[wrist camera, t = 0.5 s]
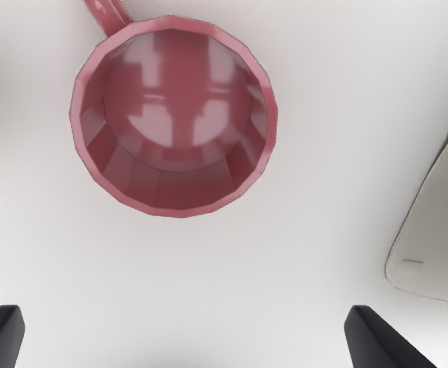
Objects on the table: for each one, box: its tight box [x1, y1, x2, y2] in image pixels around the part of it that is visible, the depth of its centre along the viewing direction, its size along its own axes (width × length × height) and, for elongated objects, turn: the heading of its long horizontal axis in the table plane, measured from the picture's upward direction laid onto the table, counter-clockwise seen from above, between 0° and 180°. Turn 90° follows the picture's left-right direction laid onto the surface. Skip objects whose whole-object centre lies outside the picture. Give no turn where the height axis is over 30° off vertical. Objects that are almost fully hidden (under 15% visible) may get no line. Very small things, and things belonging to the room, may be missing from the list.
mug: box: [69, 0, 278, 218], centre depth 18 cm, size 13×10×6 cm
